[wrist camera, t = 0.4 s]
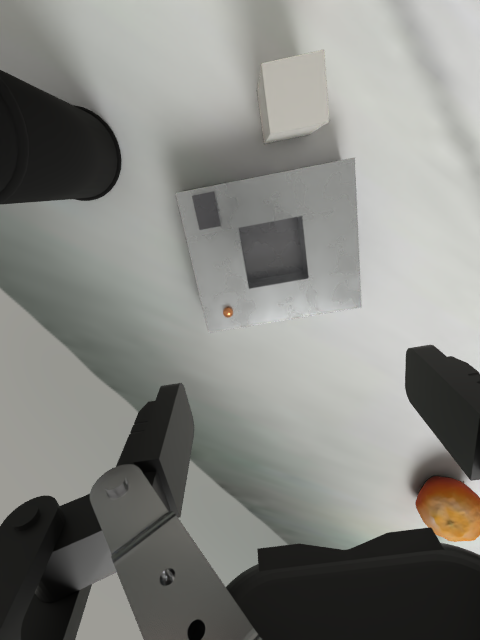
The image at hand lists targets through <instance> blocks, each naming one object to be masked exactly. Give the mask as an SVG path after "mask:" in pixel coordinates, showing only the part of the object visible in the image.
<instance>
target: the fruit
mask: <svg viewBox="0 0 480 640" xmlns="http://www.w3.org/2000/svg"><path fill="white" fill-rule="evenodd" d="M416 508H417V510H418V512H419V514H420V516H421V518H422V520H423V521H424V523H425V524H426V525H427V526H428V527H429V528H432V529H433V531H434V533H435V534H436V535H438V536H441V537H444V538H445V539H447V540H449V541H454V542H457V541H472V540H475V539H476V538H477V537H478V536H479V535H480V498H479V496H478V495H477V494H476V493H474V492H473V491H472V490H471V489H470V488H469V487H468V486H467V485H465V484H464V481H463V482H461V481H458V480H456V479H453V478H449V477H440V476H433V477H431V478H430V479H428V480H427V481H426V483H425V484H424V486H423V487H422V489H421V490H420V492H419V494H418V497H417V500H416Z"/></svg>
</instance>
